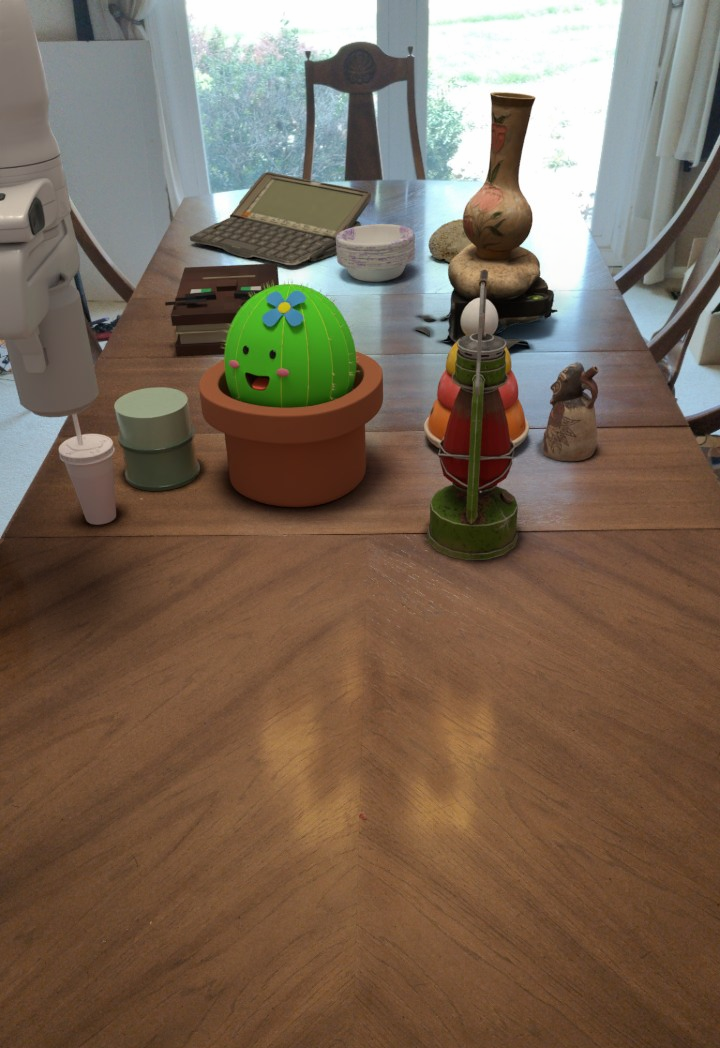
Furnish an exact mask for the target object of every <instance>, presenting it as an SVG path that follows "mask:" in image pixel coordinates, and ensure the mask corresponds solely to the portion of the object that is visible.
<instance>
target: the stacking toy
mask: <svg viewBox="0 0 720 1048" xmlns="http://www.w3.org/2000/svg"><path fill="white" fill-rule="evenodd" d="M479 306H480V298H476V299H474V300H472V301H471V302H469V304H468V305H467V306H466V307H465V309H464V310H463V313H462V316H461V328H462V330H463V332H464V333H465V335H466V336H468V335H472V334H476V333H478V326H479ZM498 327H499V324H498V314H497V311H496V308H495V307H494V305H493V304H492V303H491V302H490V301H489V300H487V299H486V309H485V330H484V332H485V333H488V334H491V335H492V334H493V335H494V334H495V333H496V332H497V329H498ZM457 342H458V341H457ZM457 342H454V344H453V345H452V346H451V348H450V350H449V351H448V353H447V356H446V361H445V369H444V371H443V373H442V375H441V376H440V379H439V382H438V384H437V389H436V399H435V401H434V402H433V404H432V407H431V409H430V412H429V413H430V414H429V415H428V417H427V418H426V419H425V421H424V424H423V430H424V434H425V436H426V438H427V439H428V441H429V442H430V443H431V444H432V445H433V446H435V447H436V448H438V449H440V446H439V443H440V442H441V441H442V439H443V438H444V436H445V432H446V428H447V423H448V420H449V417H450V414H451V411H452V408H453V405H454V402H455V399H456V397H457V395H458V392H459V390H460V388H461V387H459V386H458V385H456V384H455V383H453V380H452V375H453V374H454V372H455V361H456V359H457V350H458V347H457ZM504 350H505V352H506V357H505V361H506V372H505V373H506V374H507V376H508V381H507V383H506V384H505V385H503V386H501V387H499V388H498V389H499V392H500V395H501V398H502V401H503V405H504V409H505V414H506V418H507V422H508V429H509V436H510V439H511V440H512V442H513V444H514V446H515V448H517V447H519V446H520V445H521V444H522V443H523V442H525V440H526V439H527V436H528V435H529V432H530V424H529V422H528V420H527V418H526V417H525V411H524V408H523V405H522V402H521V401H520V399H519V384H518V380H517V377H516V376H515V373H514V372H513V370H512V358H511V353H510V351H509V349H507V347H506V348H505V349H504ZM442 446H443V445H442ZM515 448H514V449H515Z"/></svg>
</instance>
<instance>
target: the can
mask: <svg viewBox="0 0 720 1048" xmlns="http://www.w3.org/2000/svg"><path fill="white" fill-rule="evenodd" d="M60 277H61V280H60V281H59V282H58V284H57V286H55V287H52V288H48V292H49V295H50V304H49V309H48V313H47V314H46V316H45V317H44V319H43V320H42V321H41V323H40V324H39V325H38V327H39V332H40V333H39V335H38V337H39V340H40V342H41V345H42V348H46V352H47V358H48V361H49V364H48V366H47V367H46V369H45V371H44V372H42V373H29V372H27V370H26V369H25V366H24V362H23V357H22V354H21V353H20V352H19V350H18V348H17V347H16V345H15V344H14V342H13V341H12V340H4V343H5V348H6V353H7V355H8V359H9V363H10V368H11V372H12V375H13V380H14V384H15V387H16V392H17V396H18V400H19V404H20V405H21V406H22V407H23V408H24V409H25V410H27V411H29V412H31V413H32V414H34V415H36V416H39V417H42V418H63V417H69V416H72V415H73V414H76V413H77V414H79V413H82V412H83V411H86V410H87V409H88V408H90V407H91V406H92V404H93V402H94V401H95V400H96V399H97V398H98V397H99V396H98V395H99V394H100V390H99V385H98V379H97V375H96V370H95V364H94V359H93V353H92V349H91V344H90V339H89V334H88V328H87V324H86V323H87V322H86V318H85V313H84V307H83V304H82V303H83V302H82V298H81V294H80V291H79V290H78V289H77V288H75V286H73V285H72V284H71V283H69V281H70V279H69V276H67V275H66V274H64V273H60Z"/></svg>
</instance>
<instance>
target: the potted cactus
mask: <svg viewBox="0 0 720 1048" xmlns="http://www.w3.org/2000/svg"><path fill="white" fill-rule="evenodd" d="M268 282H269V281H268ZM263 284H264V283H263ZM266 284H267V283H266ZM266 286H267V289H265V286H264V289H265V290H263V291H261V292H259V293H257V294H256V295H254V296H253V297H251V298H250V299H249V300H248V301H247V302H246V303H245V304H244V305H243V306H242V307H241V308H240V310H239V311H238V312H237V314H236V316H235V317H234V319H233V321H232V323H231V325H229V324H228V325H229V326H230V328H229V327H227V328H229V331H227V333H228V334H227V338H226V341H225V340H223V341H224V342H226V343H225V353H224V354H223V355H224V358H222V357H221V359H220V360H219V361H218V362H216V363H215V364H213V365H212V366H211V367H209V368H208V369H207V370H206V371H205V373H203V375H202V376H201V378H200V380H199V384H198V393H199V400H200V407H201V414H202V417H203V419H204V421H205V422H206V423H207V424H208V425H209V426H210V427H212V428H213V429H215V430H216V431H218V432H221V433H222V434H224V442H225V450H226V451H225V452H226V457H227V458H226V459H227V466H228V475H229V480H230V483H231V485H232V487H233V488H234V490H235V491H237V492H238V493H239V494H241V495H242V496H244V497H246V498H247V499H250V500H252V501H255V502H258V503H261V504H265V505H270V506H277V507H284V508H306V507H314V506H315V507H316V506H319V505H324V504H328V503H330V502H333V501H336V500H338V499H341V498H342V497H344V496H346V495H348V494H349V493H350V492H352V491H353V490H354V489H356V487H358V486H359V484H360V483H361V482H362V481H363V479H364V478H365V477H364V476H365V474H366V471H367V469H366V468H367V450H366V447H367V446H366V424H368V423H369V422H370V421H372V420H373V419H374V418H375V417H376V416H377V414H379V412H380V410H381V408H382V406H383V404H384V403H383V402H384V374H383V373H384V372H383V369H382V366H381V365H380V364H379V362H377V361H376V360H375V359H373V358H372V357H371V356H369V355H366V354H364V353H363V352H359V349H357V348H356V346H355V341H356V339H357V338H353V333H354V331H353V330H352V327H353V326H354V324H352V325H350V326H349V325H348V323H347V321H346V320H345V318H344V315H343V314H342V312H341V311H340V309H339V308H338V307H337V305H336V304H335V303H334V302H335V301H336V298H333V297H331V298H330V299H329V298H328V297H327V296H328V293H326V294H323V293H321V292H322V290H323V289H320V291H318V290H316V289H315V288H313V287H308V286H309V284H306V285H303V284H294V279H291V280H289V279H287V283H286V281H283V283H281V284H279V285H276V286H274V284H273V286H272V287H270V285H269V287H268V285H266ZM254 294H255V293H254ZM249 295H250V296H252V295H253V294H249ZM332 298H333V299H332ZM227 330H228V329H227ZM224 332H226V330H225V331H224ZM222 333H223V332H222ZM221 346H222V345H221ZM221 348H222V347H221ZM223 348H224V347H223ZM223 348H222V349H223Z"/></svg>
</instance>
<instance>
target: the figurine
mask: <svg viewBox="0 0 720 1048" xmlns="http://www.w3.org/2000/svg"><path fill="white" fill-rule="evenodd" d="M598 373H599V368H598V367H597V366H596V365H593V366H591V367H590V368H588V369H587V370H586V371H585V367H584V364H582V363H581V362H578V361H576V362H573V363H570V364H569V365H568V366H566V367H565V368H563V369H562V370H561V371H560V372H559V374H558V375H557V379H556V380H555V381H554V382H553V383H552V384H551V386H550V390H551V391H552V396H551V399H550V401H549V404H550V405H551V406H552V408H551V409H550V412H549V415H548V420H547V424H546V427H545V430H544V432H543V437H542V444H541V449H542V452H543V453H542V454H543V455H544V456H545V457H547V458H549V459H552V460H555V461H559V462H578V461H579V462H580V461H584V460H587V459H590V458H591V457H592V456H593V455H594V453H595V451H596V448H597V443H598V424H597V417H596V416H597V415H596V414H597V413H596V408H595V403H596V400H597V399H598V394H599V386H598V384H597V382H596V381H595V379H594V377H595V376H596V375H597V374H598ZM585 390H588V391H589V392H590V395H591V396H590V395H589V394H588V393H586V392H585Z"/></svg>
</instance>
